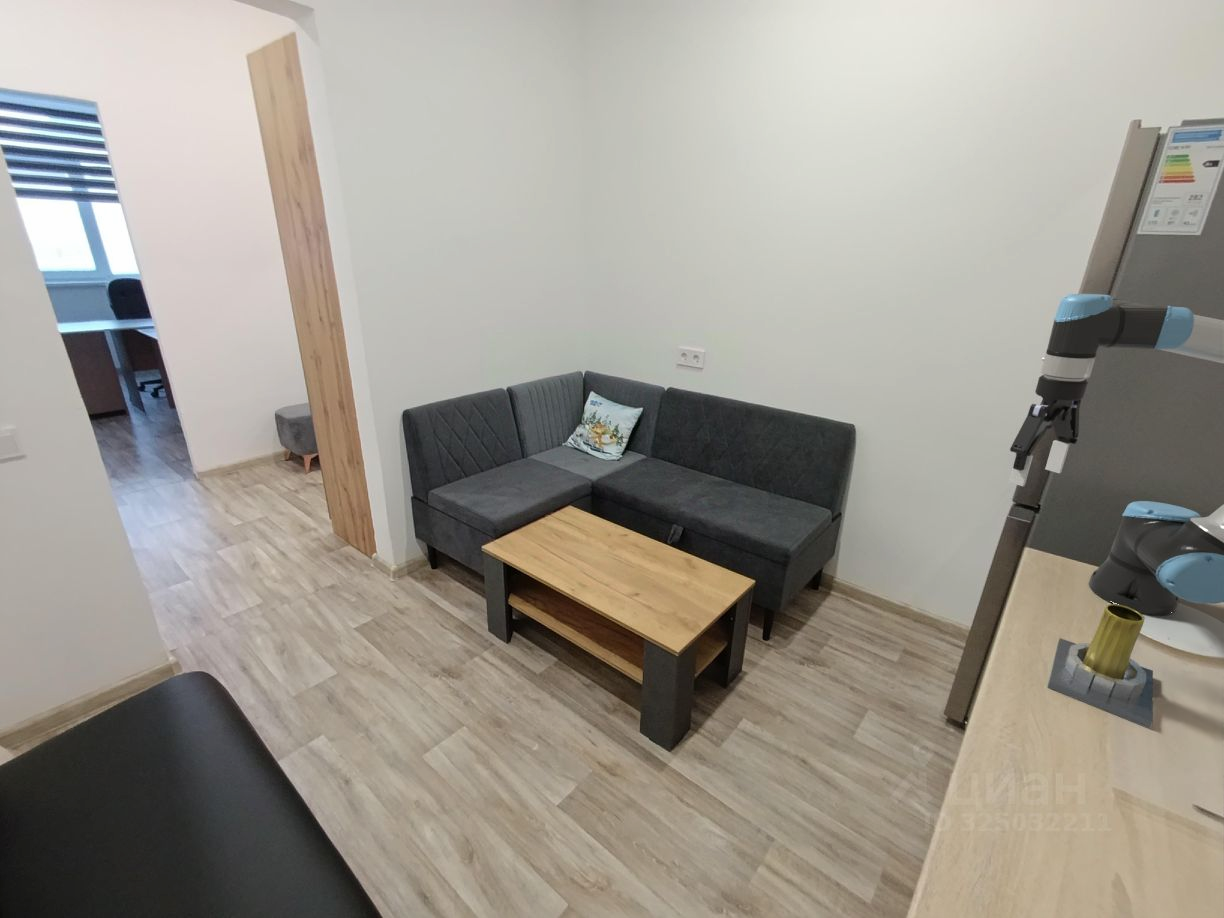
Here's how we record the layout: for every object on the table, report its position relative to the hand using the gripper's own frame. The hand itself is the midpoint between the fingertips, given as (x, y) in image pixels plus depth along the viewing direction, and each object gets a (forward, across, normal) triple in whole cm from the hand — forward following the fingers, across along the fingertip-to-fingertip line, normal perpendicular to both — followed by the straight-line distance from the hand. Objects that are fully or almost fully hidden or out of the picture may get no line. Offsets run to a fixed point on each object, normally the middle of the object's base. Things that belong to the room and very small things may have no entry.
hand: (1035, 477), depth 114 cm
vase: (+30, +9, +23) cm, 39 cm away
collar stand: (+32, +8, +23) cm, 40 cm away
